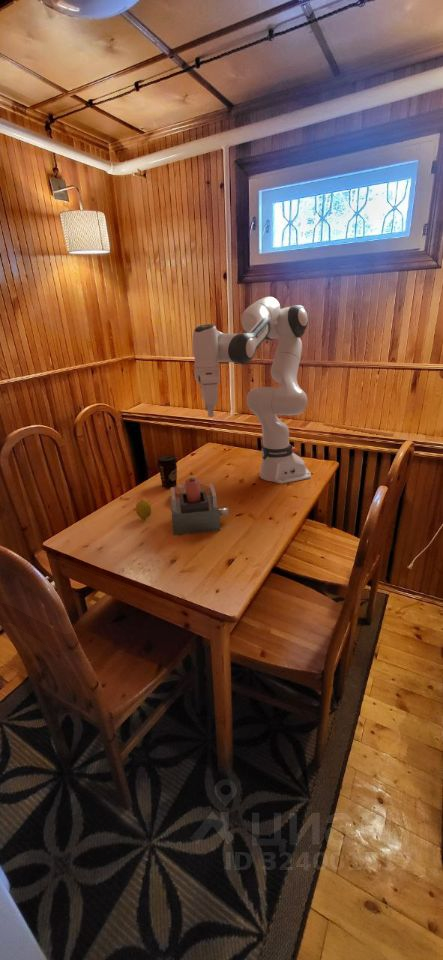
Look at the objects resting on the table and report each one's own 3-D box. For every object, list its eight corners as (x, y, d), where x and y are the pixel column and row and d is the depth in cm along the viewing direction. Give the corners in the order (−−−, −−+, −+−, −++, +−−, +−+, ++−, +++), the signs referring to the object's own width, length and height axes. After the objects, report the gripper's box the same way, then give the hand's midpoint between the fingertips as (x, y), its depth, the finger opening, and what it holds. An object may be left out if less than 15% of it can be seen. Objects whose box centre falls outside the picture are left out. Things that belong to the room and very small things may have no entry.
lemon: (155, 516, 152) (152, 497, 149) (147, 523, 147) (145, 503, 144) (141, 514, 154) (139, 495, 150) (134, 521, 149) (131, 502, 146)
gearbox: (226, 513, 152) (224, 481, 147) (231, 529, 141) (230, 495, 136) (172, 518, 150) (169, 486, 145) (173, 535, 139) (170, 501, 134)
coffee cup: (181, 482, 180) (179, 454, 175) (177, 490, 173) (175, 461, 168) (162, 482, 181) (159, 454, 176) (157, 489, 174) (154, 461, 169)
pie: (163, 500, 164) (162, 489, 162) (191, 488, 174) (190, 477, 172) (190, 512, 154) (189, 500, 152) (218, 497, 165) (217, 486, 163)
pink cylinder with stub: (200, 500, 145) (198, 475, 141) (201, 506, 140) (199, 481, 136) (179, 502, 144) (176, 477, 140) (179, 508, 139) (177, 483, 135)
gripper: (195, 370, 152) (198, 407, 158) (201, 379, 134) (203, 421, 139) (212, 369, 153) (214, 406, 158) (220, 378, 134) (221, 419, 140)
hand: (209, 413), depth 149 cm, fingers open, 8 cm apart
